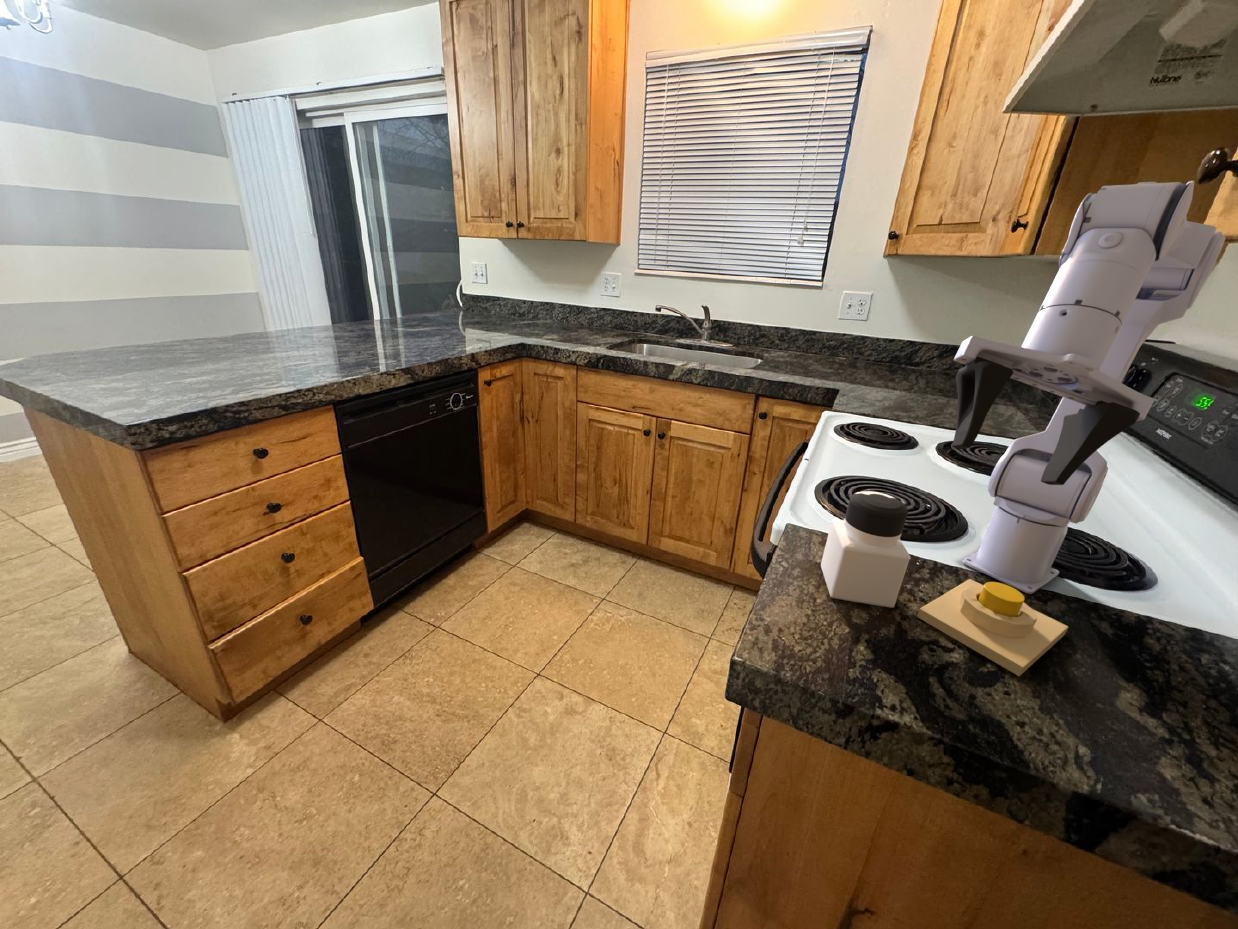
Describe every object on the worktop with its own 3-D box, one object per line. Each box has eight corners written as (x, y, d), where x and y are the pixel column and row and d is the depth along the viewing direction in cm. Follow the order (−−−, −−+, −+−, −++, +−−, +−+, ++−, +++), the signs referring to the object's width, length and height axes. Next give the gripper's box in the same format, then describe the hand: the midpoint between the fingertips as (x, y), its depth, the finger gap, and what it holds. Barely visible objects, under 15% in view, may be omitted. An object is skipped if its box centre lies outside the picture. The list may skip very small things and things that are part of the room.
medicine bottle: (894, 609, 57) (925, 517, 52) (829, 599, 58) (854, 508, 54) (877, 574, 63) (903, 490, 59) (819, 565, 65) (840, 482, 60)
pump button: (986, 593, 57) (993, 578, 56) (1023, 611, 54) (1030, 595, 53) (972, 602, 55) (978, 587, 54) (1009, 622, 52) (1016, 606, 51)
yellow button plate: (966, 586, 62) (974, 566, 61) (1064, 635, 55) (1075, 613, 53) (916, 617, 56) (924, 595, 55) (1019, 677, 48) (1030, 653, 47)
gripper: (1015, 274, 40) (941, 427, 41) (1217, 338, 37) (1133, 502, 38) (972, 304, 47) (909, 434, 48) (1140, 360, 44) (1070, 498, 45)
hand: (1005, 464), depth 43 cm, fingers open, 7 cm apart
